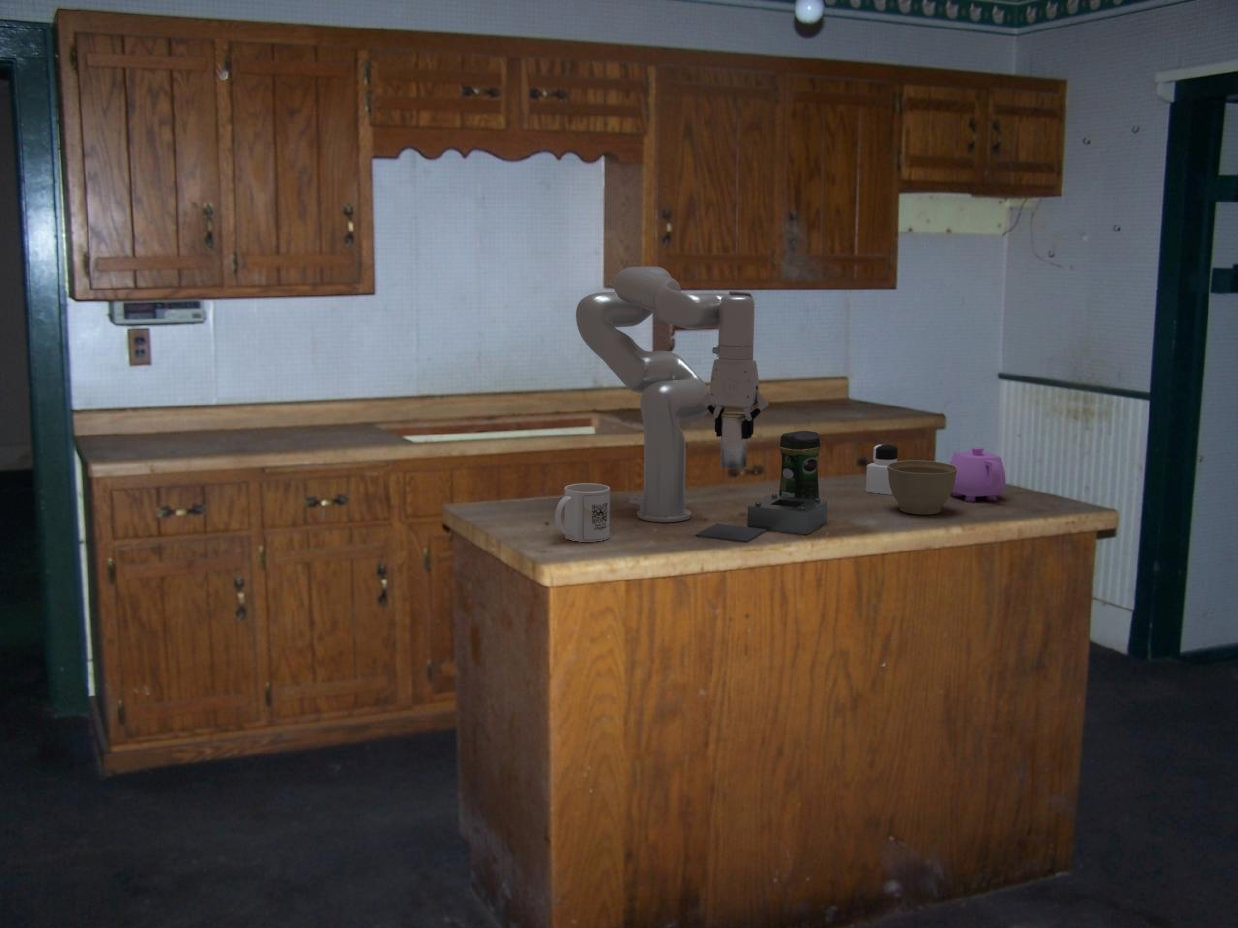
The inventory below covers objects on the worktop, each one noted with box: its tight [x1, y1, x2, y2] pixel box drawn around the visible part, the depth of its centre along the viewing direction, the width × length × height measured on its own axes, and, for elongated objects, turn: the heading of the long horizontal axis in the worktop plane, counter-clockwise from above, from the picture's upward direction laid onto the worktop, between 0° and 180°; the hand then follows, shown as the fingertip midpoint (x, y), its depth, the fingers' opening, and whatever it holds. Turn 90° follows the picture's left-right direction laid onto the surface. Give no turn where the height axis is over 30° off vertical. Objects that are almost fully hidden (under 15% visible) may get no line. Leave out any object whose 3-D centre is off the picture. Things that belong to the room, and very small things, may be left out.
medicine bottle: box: [865, 443, 899, 496], centre depth 328 cm, size 7×7×12 cm
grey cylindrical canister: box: [720, 411, 748, 469], centre depth 278 cm, size 6×6×12 cm
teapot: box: [949, 446, 1006, 502], centre depth 322 cm, size 20×12×13 cm, turn 15°
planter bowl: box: [887, 459, 957, 516], centre depth 305 cm, size 16×16×11 cm
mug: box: [554, 482, 611, 543], centre depth 276 cm, size 10×12×11 cm
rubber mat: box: [695, 523, 768, 543], centre depth 282 cm, size 12×12×1 cm
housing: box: [746, 493, 829, 535], centre depth 290 cm, size 14×14×6 cm
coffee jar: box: [778, 430, 821, 499], centre depth 308 cm, size 10×8×19 cm
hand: (733, 436), depth 278 cm, fingers closed on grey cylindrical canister, 5 cm apart
